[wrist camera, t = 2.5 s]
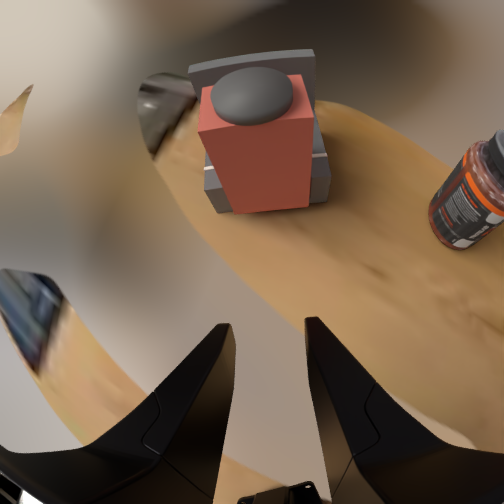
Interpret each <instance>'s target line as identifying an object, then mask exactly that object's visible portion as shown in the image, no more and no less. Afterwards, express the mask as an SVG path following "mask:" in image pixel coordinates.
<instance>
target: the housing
mask: <svg viewBox="0 0 504 504" xmlns="http://www.w3.org/2000/svg"><path fill="white" fill-rule="evenodd" d="M249 67H266V68H272V69H275V70H278V71H280V72H282V73H284V74H285V75H300V74H301V76H302V79H303V82H304V86H305V89H306V92H307V95H308V99H309V102H310V105H311V109H312V112H313V116H314V129H313V149H312V166H311V181H310V195H309V203H318V202H327V198H328V193H329V188H330V182H331V177H332V176H331V172H330V167H329V163H328V159H327V157H328V155H327V153H326V151H325V147H324V143H323V140H322V136H321V132H320V129H319V125H318V121H317V118H316V114H315V111H314V104H315V55H314V53H313V50H312V49H304V50H287V51H274V52H265V53H256V54H248V55H242V56H236V57H229V58H224V59H218V60H213V61H208V62H203V63H199V64H194V65H190V66H189V70H188V75H189V78H190V80H191V83H192V85H193V88H194V90H195V93H196V95H197V98H198V100H199V103H200V104H201V95H202V88H203V87H208V86H213V85H215V84H216V83H217V82H218V81H219V80H220V79H221V78H222V77H224V76H225V75H227V74H229V73H231V72H234V71H237V70H240V69H244V68H249ZM204 171H205V183H204V191H205V192H206V194H207V196H208V198H209V199H210V201H211V203H212V205H213V207H214V208H215V210H216V212H217V213H223V212H231V211H233V209H232V207H231V205H230V203H229V201H228V198H227V196H226V194H225V192H224V189H223V187H222V185H221V183H220V181H219V178H218V176H217V174H216V172H215V169H214V167H213V165H212V163H211V160H210V158H209V156H208V154H207V152H206V159H205V167H204Z"/></svg>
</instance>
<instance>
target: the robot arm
mask: <svg viewBox="0 0 504 504" xmlns="http://www.w3.org/2000/svg"><path fill="white" fill-rule="evenodd" d="M305 343H306V356H307V367H308V380H309V387H310V392H311V396H312V401H313V406H314V411H315V416H316V421H317V425H318V431H319V435H320V440H321V446H322V451H323V456H324V461H325V466H326V472H327V477H328V482H329V488H330V493H331V498H332V504H504V454H502V453H494V452H487V451H480V450H474V449H468V448H462V447H458V446H454V445H451V444H448V443H446V442H444V441H443V440H441V439H439V438H438V437H437V436H435V435H434V434H433V433H431V432H430V431H429V430H428V429H427V428H426V427H424V426H423V425H422V424H421V423H420V422H418V421H417V420H416V419H415V418H414V417H412V416H411V415H410V414H409V413H408V412H406V411H405V410H404V409H403V408H402V407H401V406H400V405H399V404H398V403H397V402H395V401H394V400H393V399H392V398H391V396H390V395H389V394H388V393H387V392H386V391H385V390H384V389H383V388H382V387H381V386H380V385H379V384H378V383H377V382H376V380H375V379H374V378H373V377H372V376H371V375H370V374H369V373H368V371H367V370H366V369H365V368H364V367H363V366H362V365H361V364H360V363H359V362H358V360H357V359H356V358H355V357H354V356H353V355H352V354H351V353H350V352H349V350H348V349H347V348H346V347H345V346H344V345H343V344H342V343H341V342H340V341H339V339H338V338H337V337H336V336H335V335H334V334H333V333H332V332H331V331H330V330H329V328H328V327H327V326H326V325H325V324H324V323H323V322H322V321H321V320H320V319H319V317H306V318H305ZM235 355H236V344H235V338H234V334H233V331H232V326H231V324H229V323H220V324H217V325H216V326H215V327H214V328H213V329H212V330H211V331H210V333H209V334H208V335H207V336H206V337H205V338H204V339H203V340H202V341H201V342H200V343H199V344H198V345H197V346H196V347H195V348H194V349H193V350H192V351H191V352H190V354H189V355H188V356H187V357H186V358H185V359H184V360H183V361H182V362H181V363H180V364H179V365H178V366H177V367H176V368H175V369H174V370H173V371H172V372H171V373H170V374H169V375H168V376H167V378H165V379H164V380H163V381H162V382H161V384H159V386H158V387H157V388H156V389H155V390H154V392H152V393H151V394H150V395H149V396H148V397H147V398H146V399H145V400H144V401H142V402H141V403H140V404H139V405H138V406H137V407H136V408H135V409H134V410H133V411H132V412H130V413H129V414H128V415H127V416H126V417H125V418H123V419H122V420H121V421H120V422H118V423H117V424H116V425H115V426H113V427H112V428H111V429H109V430H108V431H107V432H106V433H104V434H103V435H102V436H100V437H99V438H98V439H96V440H95V441H94V442H92V443H90V444H89V445H87V446H84V447H81V448H78V449H72V450H64V451H54V452H42V453H15V452H11V451H8V450H7V449H5V448H4V447H3V446H1V445H0V472H1V473H2V474H1V473H0V504H213V499H214V494H215V488H216V483H217V478H218V472H219V467H220V462H221V456H222V451H223V445H224V440H225V434H226V429H227V424H228V418H229V413H230V407H231V402H232V396H233V390H234V377H235ZM5 476H6V477H5ZM308 485H309V486H311V487H310V488H306V486H308ZM241 502H245V503H246V504H323V502H322V500H321V498H320V496H319V494H318V491H317V489H316V487H315V485H314V483H313V482H311V481H307V482H303V483H300V484H297V485H293V486H290V487H281V488H277V489H273V490H269V491H265V492H261V493H257V494H256V495H253V496H248V497H243V498H240V499H239V500H238V502H237V504H243V503H241Z"/></svg>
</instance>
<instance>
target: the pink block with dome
mask: <svg viewBox="0 0 504 504" xmlns="http://www.w3.org/2000/svg"><path fill="white" fill-rule="evenodd" d="M313 129H314V116H313V112H312V109H311V105H310V102H309V99H308V95H307V92H306V89H305V86H304V82H303V79H302V76H301V74H300V75H285V74H284V73H282V72H280V71H278V70H275V69H272V68H266V67H249V68H244V69H240V70H237V71H234V72H231V73H229V74H227V75H225V76H224V77H222V78H221V79H220V80H219V81H218V82H217V83H216V84H215V85H213V86H208V87H203V88H202V95H201V104H200V113H199V123H198V134H199V136H200V138H201V140H202V143H203V145H204V147H205V149H206V152H207V154H208V156H209V158H210V160H211V163H212V165H213V167H214V169H215V172H216V174H217V176H218V178H219V181H220V183H221V185H222V187H223V189H224V192H225V194H226V196H227V198H228V201H229V203H230V205H231V207H232V209H233V212H234V214H243V213H252V212H261V211H270V210H280V209H290V208H301V207H309V195H310V181H311V166H312V149H313Z"/></svg>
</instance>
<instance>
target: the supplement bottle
mask: <svg viewBox="0 0 504 504" xmlns="http://www.w3.org/2000/svg"><path fill="white" fill-rule="evenodd" d="M429 221H430V224H431V227H432V229H433V231H434V233H435V234H436V236H437V237H438V238H439V240H441V241H442V242H443V243H444V244H445V245H447V246H448V247H450V248H453V249H456V250H463V249H466V248H468V247H470V246H472V245H474V244H475V243H476V242H477V241H479V240H480V239H482V238H483V237H484V236H486V235H487V234H488V233H490V232H491V231H492V230H494V229H495V228H496V227H497V226H499V225H500V224H502V223H503V222H504V130H499V131H497V132H496V134H495V135H494V136H493V138H492V139H491V140H490V141H478V142H476V143H474V144H473V145H472V146H471V147H470V148H469V149H468V150H467V152H466V154H465V155H464V156H463V157H462V159H461V160H460V162H459V163H458V164H457V166H456V168H455V169H454V170H453V171H452V173H451V174H450V175H449V177H448V178H447V180H446V181H445V182H444V184H443V185H442V186H441V188H440V189H439V190H438V191H437V193H436V194H435V195H434V197H433V199H432V200H431V202H430V205H429Z"/></svg>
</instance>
